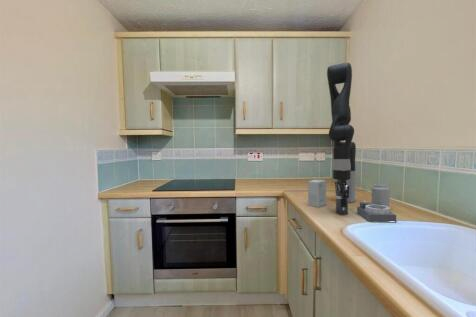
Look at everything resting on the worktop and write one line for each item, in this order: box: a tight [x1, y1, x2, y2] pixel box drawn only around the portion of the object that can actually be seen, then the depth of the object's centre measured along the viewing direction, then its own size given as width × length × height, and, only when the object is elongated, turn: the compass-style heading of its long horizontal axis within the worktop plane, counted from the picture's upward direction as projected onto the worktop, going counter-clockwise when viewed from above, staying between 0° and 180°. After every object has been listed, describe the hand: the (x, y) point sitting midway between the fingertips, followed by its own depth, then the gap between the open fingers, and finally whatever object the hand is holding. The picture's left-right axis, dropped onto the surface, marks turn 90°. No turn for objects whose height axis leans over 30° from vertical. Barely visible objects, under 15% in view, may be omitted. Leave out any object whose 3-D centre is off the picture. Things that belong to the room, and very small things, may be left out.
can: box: [371, 183, 391, 208], centre depth 115 cm, size 8×8×12 cm
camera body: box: [356, 200, 397, 222], centre depth 103 cm, size 14×10×6 cm
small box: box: [307, 179, 327, 208], centre depth 127 cm, size 8×6×13 cm
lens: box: [335, 190, 349, 215], centre depth 110 cm, size 5×5×10 cm
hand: (341, 205), depth 110 cm, fingers closed on lens, 5 cm apart
